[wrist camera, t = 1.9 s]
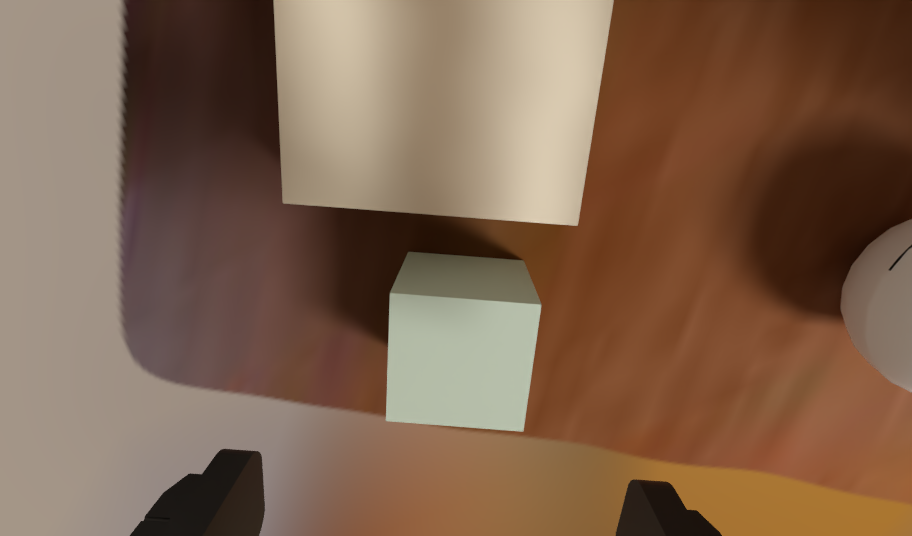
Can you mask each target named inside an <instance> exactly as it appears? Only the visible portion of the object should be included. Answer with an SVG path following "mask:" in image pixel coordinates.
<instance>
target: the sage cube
mask: <svg viewBox="0 0 912 536" xmlns="http://www.w3.org/2000/svg"><path fill="white" fill-rule="evenodd" d="M540 311H541V302H540V300H539V297H538V295H537V292H536V290H535V288H534V285H533V283H532V280H531V278H530V275H529V273H528V270H527V268H526V265H525V263H524V260H511V259H498V258H485V257H472V256H459V255H446V254H433V253H420V252H408V253H407V256H406V258H405V260H404V262H403V265H402V267H401V269H400V271H399V274H398V276H397V278H396V280H395V283H394V285H393V287H392V289H391V292H390V304H389V338H388V371H387V405H386V421H393V422H406V423H419V424H432V425H445V426H458V427H471V428H484V429H497V430H510V431H523V429H524V423H525V416H526V409H527V402H528V395H529V388H530V381H531V374H532V367H533V360H534V353H535V346H536V339H537V332H538V325H539V318H540Z"/></svg>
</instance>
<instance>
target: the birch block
mask: <svg viewBox="0 0 912 536" xmlns="http://www.w3.org/2000/svg"><path fill="white" fill-rule="evenodd" d="M613 1H614V0H274V22H275V44H276V66H277V88H278V110H279V132H280V154H281V176H282V198H283V203H286V204H299V205H312V206H325V207H338V208H351V209H364V210H377V211H391V212H404V213H417V214H430V215H443V216H456V217H469V218H482V219H495V220H508V221H522V222H535V223H548V224H561V225H574V226H578V220H579V214H580V208H581V202H582V195H583V189H584V183H585V177H586V170H587V164H588V158H589V152H590V145H591V139H592V133H593V127H594V120H595V114H596V108H597V102H598V95H599V89H600V83H601V77H602V70H603V64H604V58H605V52H606V45H607V39H608V33H609V26H610V20H611V14H612V8H613Z"/></svg>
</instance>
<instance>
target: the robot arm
mask: <svg viewBox="0 0 912 536" xmlns="http://www.w3.org/2000/svg"><path fill="white" fill-rule="evenodd" d="M264 511H265V502H264V486H263V469H262V457H261V454H260V452H258V451H246V450H232V449H222V450H220V451H219V452H218V453H217V454H216V456H215V457H214V458H213V460H212V461H211V463H210V464H209V465H208V467H207V468H206V470H205V471H204V472H203V474H188V475H187V476H185V477H184V478H183V479H181V480H180V481H179V482H177V483H176V484H175V485H173V486H172V487H171V488H169V489H168V490H167V491H165V492H164V493H163V494H162V495H161V497H160V498H159V499H158V500H157V502H156V503H155V504H154V505H153V507H152V508H151V510H150V511H149V512H148V513H147V514H146V516H145V519H144V521H141V522H140V523H139V525H138V526H137V527H136V528H135V530H134V531H133V532H132V533H131V535H130V536H259V534H260V531H261V527H262V523H263V518H264ZM616 536H722V535H721V534H720V532H719V531H718V530H717V529H716V528H714V527H713V526H712V525H711V524H710V523H709V522H708V521H707V520H706V519H705V518H704V517H703V516H702V515H701V514H700V513H699V512H698V511H696V510H687V509H686V508H685V506H684V504H683V503H682V501H681V499H680V497H679V496H678V494H677V493H676V491H675V489H674V488H673V486H672V485H671V484H670V483H668V482H662V481H661V482H660V481H647V480H632V481H630V483H629V485H628V488H627V492H626V496H625V500H624V504H623V508H622V512H621V515H620V519H619V523H618V527H617V532H616Z"/></svg>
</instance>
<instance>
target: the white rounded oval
mask: <svg viewBox="0 0 912 536" xmlns="http://www.w3.org/2000/svg"><path fill="white" fill-rule="evenodd" d="M840 309H841V313H842V316H843V319H844V323H845V326H846V329H847V331H848V333H849V336H850V338H851V340H852V343H853V345H854V346H855V348H856V349H857V350H858V351H859V352H860V353H861V355H862V356H863V357H864V358H865V359H866V360H867V361H868V363H869V364H871V365H872V366H873V367H874V368H875V369H876V370H877V371H879V372H880V373H881V374H882V375H883V376H884V377H886V378H887V379H888V380H889V381H890V382H892V383H894V384H896V385H898V386H900V387H902V388H904V389H906V390H908V391H910V392H912V219H910V220H908V221H905V222H903V223H901V224H898V225H896V226H894V227H892V228H890V229H888V230H887V231H886V232H885V233H883V234H882V235H881V236H879V237H878V238H877V239H875V240H874V241H873V242H871V243H870V244H869V245H868V246H867V247H866V248H865V250H864V251H863V252H862V253H861V255H860V256H859V257H858V258H857V259H856V261H855V262H854V263H853V264H852V266H851V268H850V271H849V273H848V275H847V277H846V280H845V282H844V284H843V287H842V295H841V306H840Z"/></svg>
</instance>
